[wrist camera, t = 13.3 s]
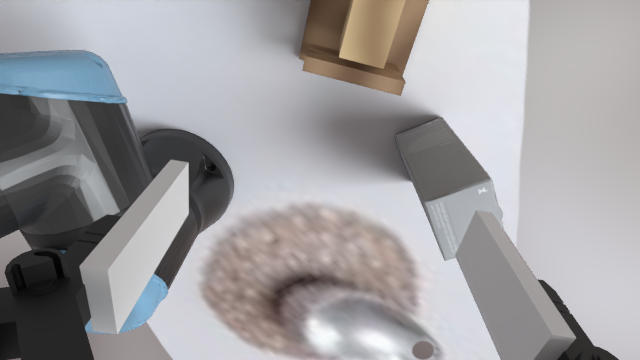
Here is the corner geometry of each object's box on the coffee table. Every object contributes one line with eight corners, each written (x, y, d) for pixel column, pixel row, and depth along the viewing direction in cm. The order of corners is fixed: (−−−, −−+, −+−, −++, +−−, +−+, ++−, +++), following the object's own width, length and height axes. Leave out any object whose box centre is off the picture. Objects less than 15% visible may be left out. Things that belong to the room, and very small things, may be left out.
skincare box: (393, 133, 47) (413, 200, 33) (448, 112, 45) (494, 174, 31) (412, 185, 50) (438, 266, 37) (464, 168, 49) (512, 246, 35)
